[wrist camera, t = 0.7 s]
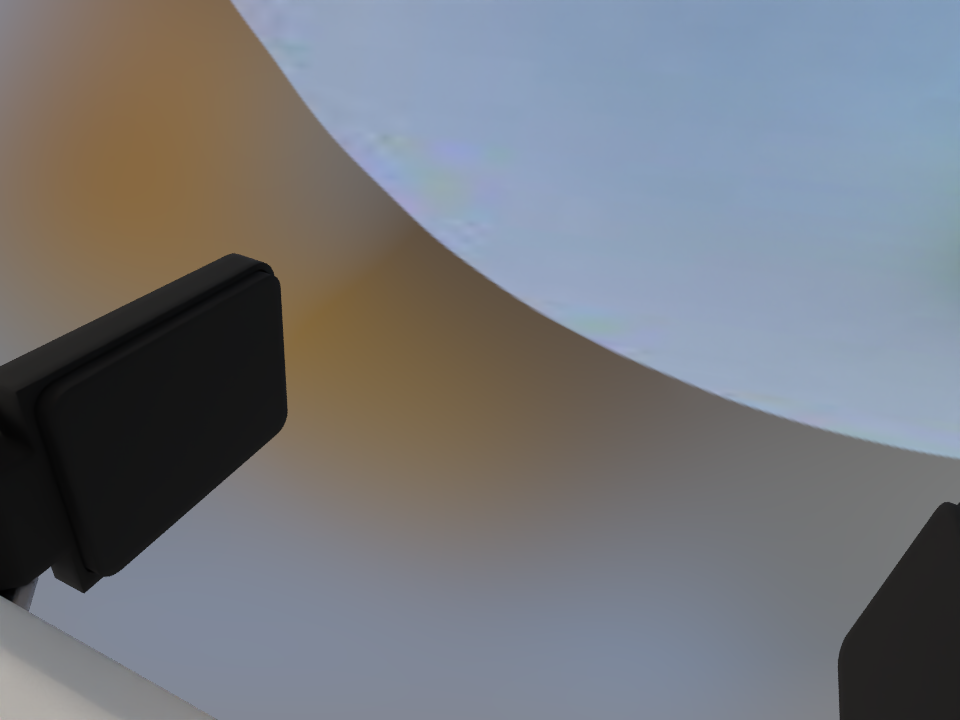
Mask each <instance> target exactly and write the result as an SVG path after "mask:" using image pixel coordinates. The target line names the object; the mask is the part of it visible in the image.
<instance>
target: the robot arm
mask: <svg viewBox="0 0 960 720" xmlns="http://www.w3.org/2000/svg"><path fill="white" fill-rule="evenodd" d="M282 323H283V322H282V305H281V288H280V282H279V280H278V278H277V277H275V276H274V272H273V270H272V269H271V267H270V266H269V265H268V264H266V263H264V262H261V261H258V260H254V259H252V258H248V257H245V256H242V255H239V254H229V255H226V256H224V257H222V258H220V259H218V260H216V261H214V262H212V263H210V264H208V265H206V266H204V267H202V268H200V269H198V270H196V271H194V272H192V273H190V274H187V275H185V276H183V277H181V278H179V279H178V280H175V281H173V282H171V283H169V284H167V285H165V286H163V287H161V288H159V289H157V290H155V291H153V292H151V293H149V294H147V295H145V296H143V297H141V298H139V299H136V300H135V301H133V302H130V303H129V304H126V305H124V306H122V307H120V308H118V309H116V310H114V311H112V312H110V313H108V314H106V315H104V316H102V317H100V318H98V319H96V320H94V321H92V322H90V323H88V324H86V325H83V326H81V327H79V328H77V329H76V330H74V331H71V332H69V333H67V334H65V335H63V336H61V337H59V338H57V339H55V340H53V341H51V342H49V343H47V344H45V345H43V346H41V347H39V348H37V349H35V350H33V351H31V352H28V353H27V354H24V355H22V356H20V357H18V358H16V359H14V360H12V361H10V362H8V363H6V364H4V365H2V366H0V720H217V719H215V718H213V717H212V716H210V715H208V714H207V713H205V712H203V711H201V710H200V709H198V708H196V707H195V706H193V705H191V704H189V703H188V702H186V701H184V700H182V699H181V698H179V697H177V696H175V695H174V694H172V693H170V692H168V691H167V690H165V689H163V688H162V687H160V686H158V685H156V684H154V683H153V682H151V681H149V680H147V679H146V678H144V677H142V676H141V675H139V674H137V673H135V672H133V671H132V670H130V669H128V668H126V667H124V666H123V665H121V664H120V663H118V662H116V661H114V660H112V659H111V658H109V657H107V656H105V655H104V654H102V653H100V652H98V651H97V650H95V649H93V648H91V647H90V646H88V645H86V644H84V643H83V642H81V641H79V640H77V639H76V638H73V637H72V636H70V635H69V634H67V633H65V632H63V631H62V630H60V629H58V628H56V627H55V626H53V625H51V624H49V623H47V622H45V621H44V620H42V619H40V618H39V617H37V616H35V615H33V614H32V613H30V612H29V609H30V605H31V602H32V598H33V595H34V591H35V588H36V584H37V581H38V576H39V575H41V574H42V573H43V572H44V571H46V570H47V569H48V568H49V567H50V566H51V568H52V570H53V573H54V576H55V578H57V579H58V580H60V581H62V582H64V583H66V584H68V585H69V586H71V587H73V588H75V589H77V590H79V591H80V592H82V593H85V592H86V591H88V590H89V589H90V588H91V587H92V586H93V585H94V584H96V583H97V582H98V581H99V580H100V579H101V578H103V577H106V576H112V575H114V574H116V573H117V572H119V571H120V570H122V569H123V568H124V567H125V566H126V565H127V564H129V563H130V562H131V561H132V560H133V559H134V558H135V557H137V556H138V555H139V554H140V553H141V552H142V551H143V550H145V549H146V548H147V547H148V546H149V545H150V544H151V543H153V542H154V541H155V540H156V539H157V538H158V537H160V536H161V535H162V534H163V533H164V532H165V531H166V530H168V529H169V528H170V527H171V526H172V525H173V524H174V523H176V522H177V521H178V520H179V519H180V518H181V517H182V516H184V515H185V514H186V513H187V512H188V511H189V510H190V509H192V508H193V507H194V506H195V505H196V504H197V503H199V502H200V501H201V500H202V499H203V498H204V497H205V496H207V495H208V494H209V493H210V492H211V491H212V490H213V489H215V488H216V487H217V486H218V485H219V484H220V483H222V481H223V480H225V479H226V478H227V477H228V476H230V475H231V474H232V473H233V472H234V471H235V470H236V469H237V468H239V467H240V466H241V465H242V464H243V463H244V462H245V461H247V460H248V459H249V458H250V457H251V456H253V455H254V454H255V453H256V452H257V451H258V450H259V449H261V448H262V447H263V446H264V445H265V444H266V443H267V442H268V441H270V440H271V439H272V438H273V437H274V436H275V435H276V434H277V433H279V431H280V430H281V429H282V427H283V426H284V423H285V421H286V418H287V395H286V394H287V393H286V376H285V359H284V340H283V324H282ZM838 682H839V708H840V709H839V710H840V720H960V503H959V504H958V505H956V504H953V503H950V502H944V503H943V504H941V505H940V506H939V507H938V508H937V509H936V511H935V512H934V513H933V515H932V516H931V517H930V519H929V520H928V522H927V523H926V524H925V526H924V527H923V529H922V530H921V532H920V533H919V534H918V536H917V537H916V539H915V540H914V541H913V543H912V544H911V545H910V547H909V548H908V550H907V551H906V552H905V554H904V555H903V557H902V558H901V560H900V561H899V562H898V564H897V565H896V567H895V568H894V569H893V571H892V572H891V574H890V575H889V577H888V578H887V579H886V581H885V582H884V584H883V585H882V586H881V588H880V589H879V590H878V592H877V593H876V595H875V596H874V597H873V599H872V600H871V602H870V603H869V604H868V606H867V608H866V609H865V610H864V611H863V613H862V614H861V616H860V617H859V618H858V620H857V621H856V623H855V624H854V625H853V627H852V628H851V630H850V631H849V632H848V634H847V635H846V637H845V639H844V641H843V643H842V646H841V649H840V653H839V659H838Z"/></svg>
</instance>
